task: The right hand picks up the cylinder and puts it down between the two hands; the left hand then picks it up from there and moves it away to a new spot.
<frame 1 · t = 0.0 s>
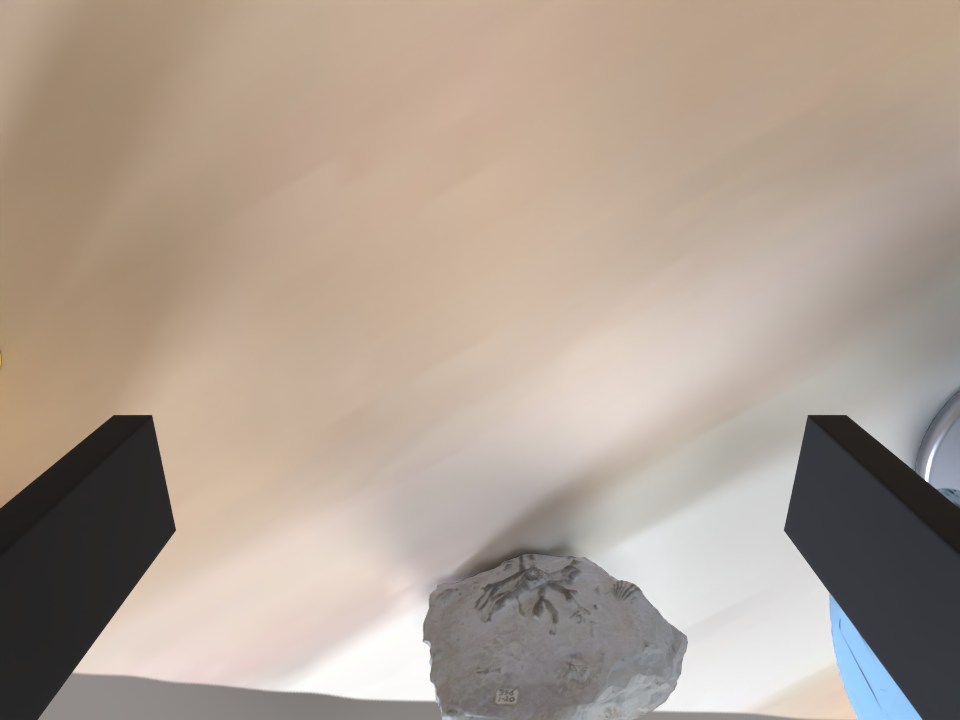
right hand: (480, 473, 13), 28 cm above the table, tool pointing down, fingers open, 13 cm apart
fossil: (541, 573, 48), on the table
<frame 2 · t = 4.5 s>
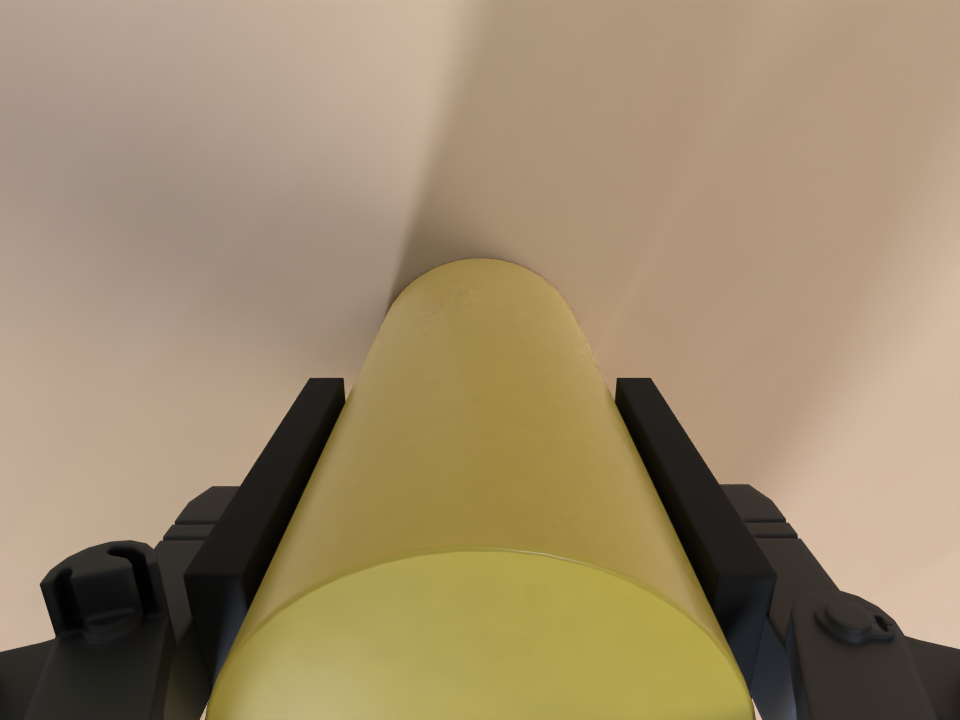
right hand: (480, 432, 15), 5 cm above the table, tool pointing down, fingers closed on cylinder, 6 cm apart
cylinder: (480, 358, 19), on the table, touching right hand
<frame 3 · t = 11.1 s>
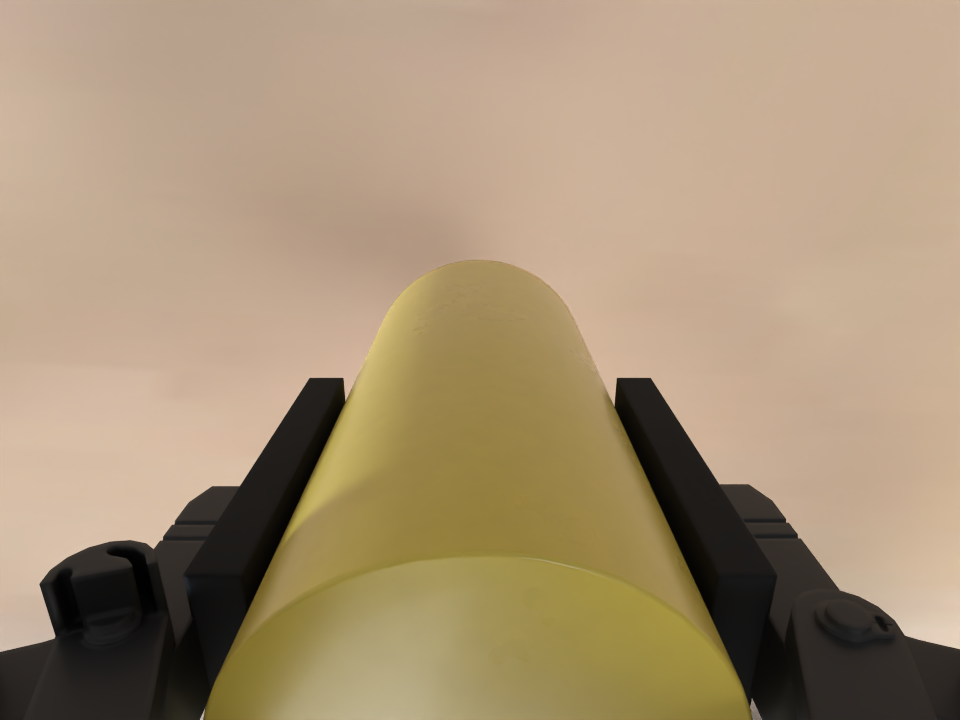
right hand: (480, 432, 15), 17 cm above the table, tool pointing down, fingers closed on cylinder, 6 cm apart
cylinder: (479, 360, 19), point 12 cm above the table, touching right hand
when the right hand's fingers open (6 cm above the table, at t = 17.9 s): cylinder drops 1 cm, on the table.
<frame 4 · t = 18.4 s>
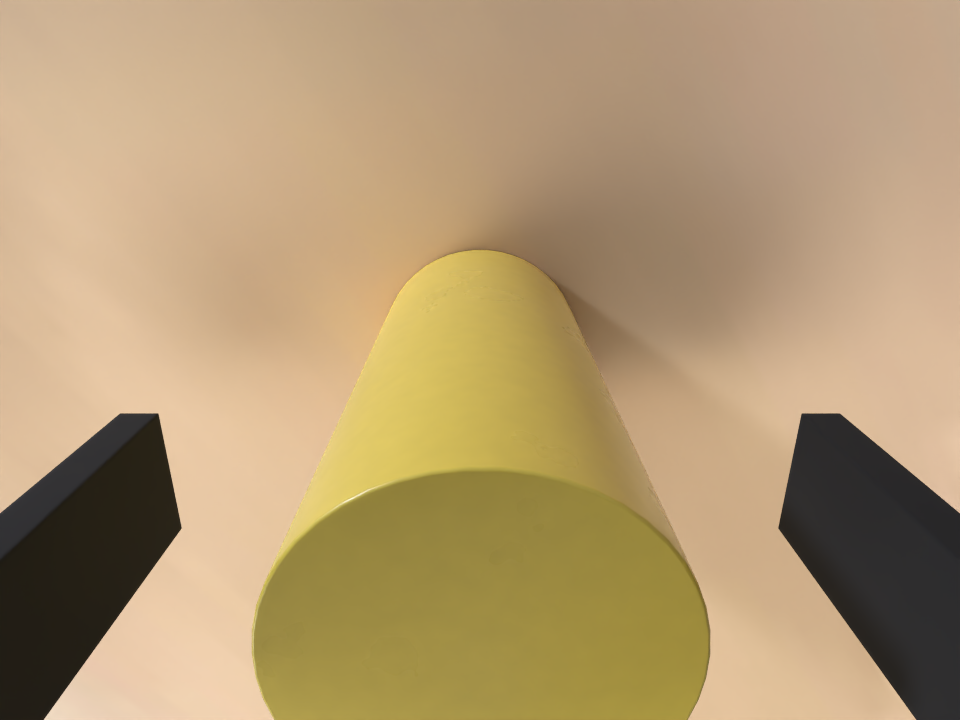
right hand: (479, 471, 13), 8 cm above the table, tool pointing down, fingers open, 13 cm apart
cylinder: (480, 344, 20), on the table
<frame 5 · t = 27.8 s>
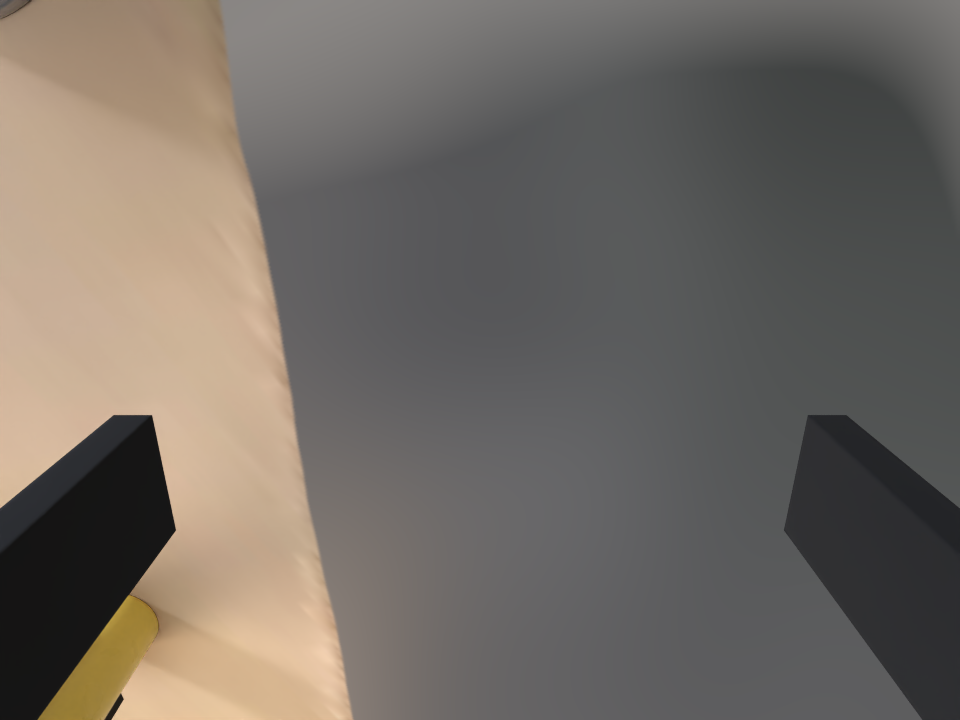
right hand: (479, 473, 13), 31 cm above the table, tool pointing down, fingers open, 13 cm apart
cylinder: (122, 621, 54), on the table, touching left hand
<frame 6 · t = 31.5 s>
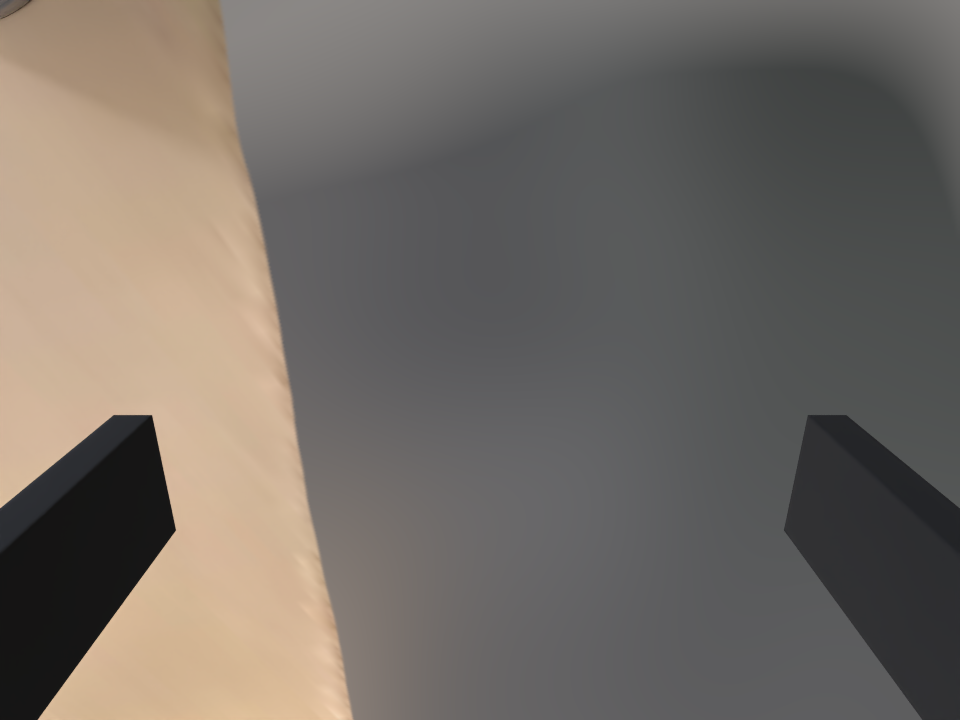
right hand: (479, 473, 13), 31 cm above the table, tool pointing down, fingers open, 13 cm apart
when the left hand's fingers open (6 cm above the table, at t = 35.2 s): cylinder drops 1 cm, on the table.
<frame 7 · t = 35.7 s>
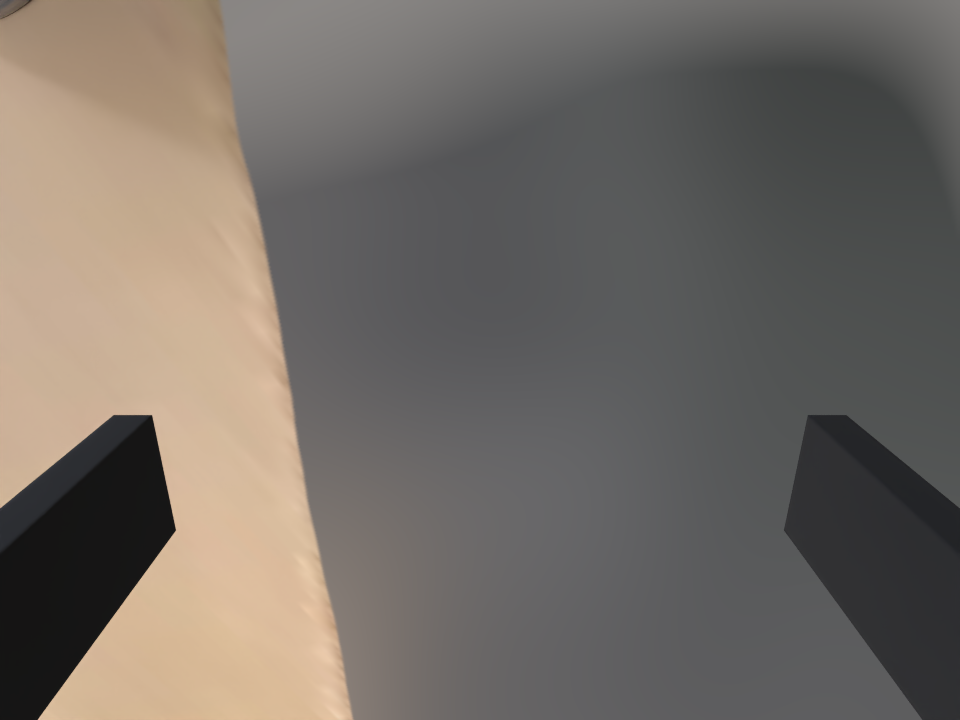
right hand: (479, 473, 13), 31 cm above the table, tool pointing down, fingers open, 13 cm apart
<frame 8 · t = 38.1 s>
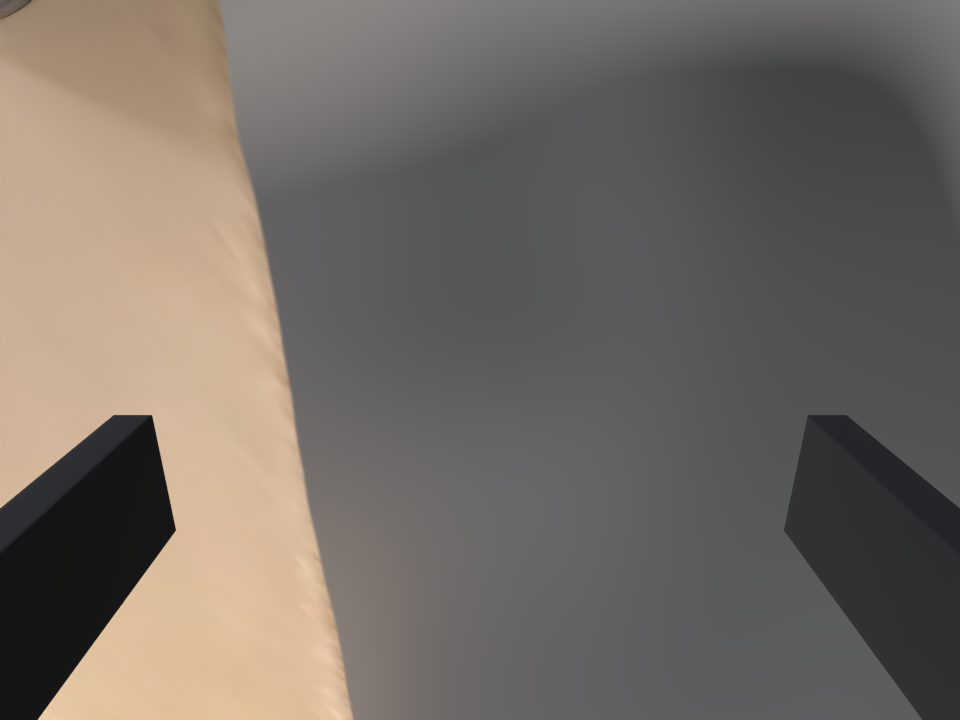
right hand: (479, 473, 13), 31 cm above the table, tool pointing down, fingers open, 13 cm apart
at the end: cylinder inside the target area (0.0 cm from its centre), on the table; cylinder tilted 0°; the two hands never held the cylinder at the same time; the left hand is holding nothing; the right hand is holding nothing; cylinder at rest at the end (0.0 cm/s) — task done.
